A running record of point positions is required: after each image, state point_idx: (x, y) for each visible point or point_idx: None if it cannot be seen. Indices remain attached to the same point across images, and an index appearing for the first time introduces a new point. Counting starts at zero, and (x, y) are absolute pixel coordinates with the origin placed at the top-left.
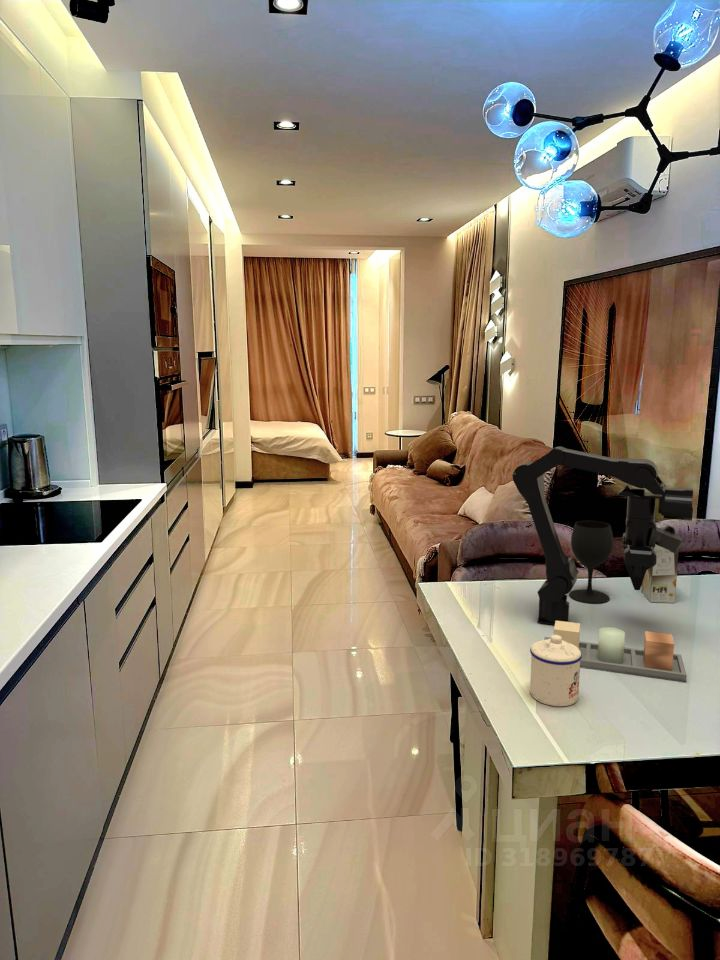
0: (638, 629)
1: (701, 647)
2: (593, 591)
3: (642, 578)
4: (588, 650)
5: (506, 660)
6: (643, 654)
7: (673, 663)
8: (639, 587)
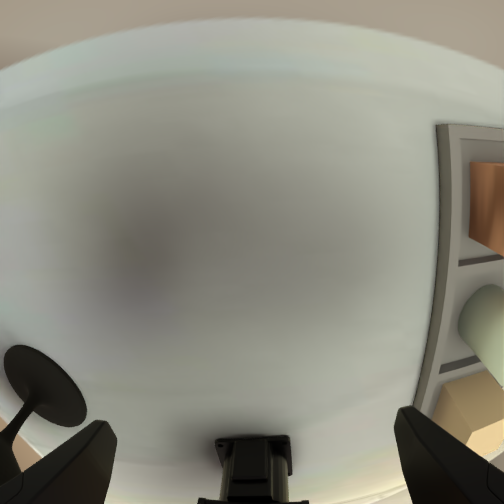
0: (203, 264)
1: (282, 46)
2: (17, 381)
3: (481, 464)
4: (471, 367)
5: None
6: (477, 241)
7: (473, 151)
8: (423, 421)
